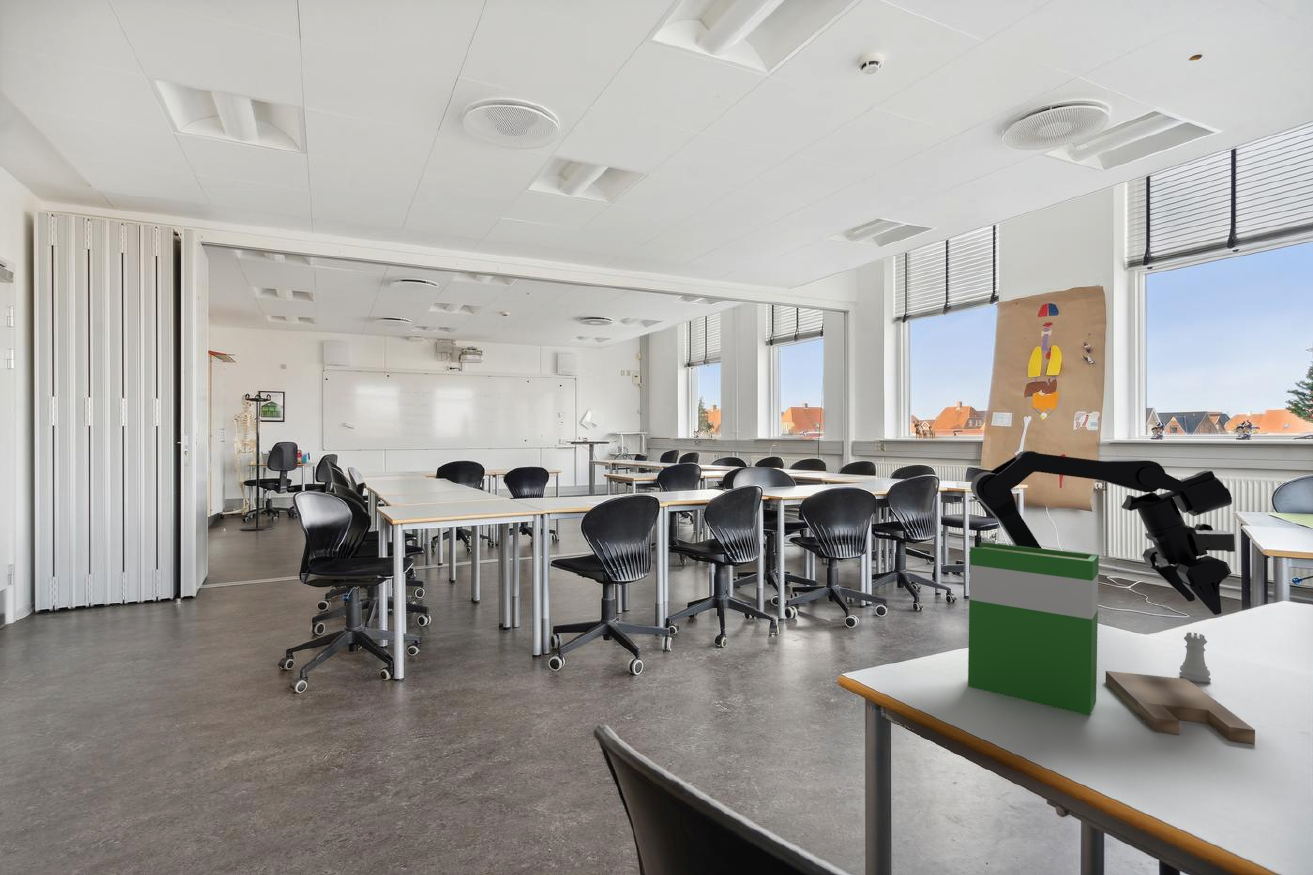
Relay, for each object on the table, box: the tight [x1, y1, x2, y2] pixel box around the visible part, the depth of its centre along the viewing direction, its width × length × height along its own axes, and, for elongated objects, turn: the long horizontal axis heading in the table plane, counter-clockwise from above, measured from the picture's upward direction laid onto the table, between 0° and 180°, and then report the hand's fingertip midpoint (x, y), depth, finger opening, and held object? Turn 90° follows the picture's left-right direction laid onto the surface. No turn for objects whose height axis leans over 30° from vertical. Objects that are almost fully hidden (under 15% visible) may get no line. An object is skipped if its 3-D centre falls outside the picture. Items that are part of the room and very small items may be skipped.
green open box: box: [967, 541, 1100, 717], centre depth 109 cm, size 18×7×24 cm, turn 50°
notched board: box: [1104, 670, 1256, 745], centre depth 104 cm, size 12×20×2 cm, turn 163°
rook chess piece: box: [1178, 631, 1212, 684], centre depth 117 cm, size 4×4×8 cm
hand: (1204, 607), depth 116 cm, fingers open, 9 cm apart
